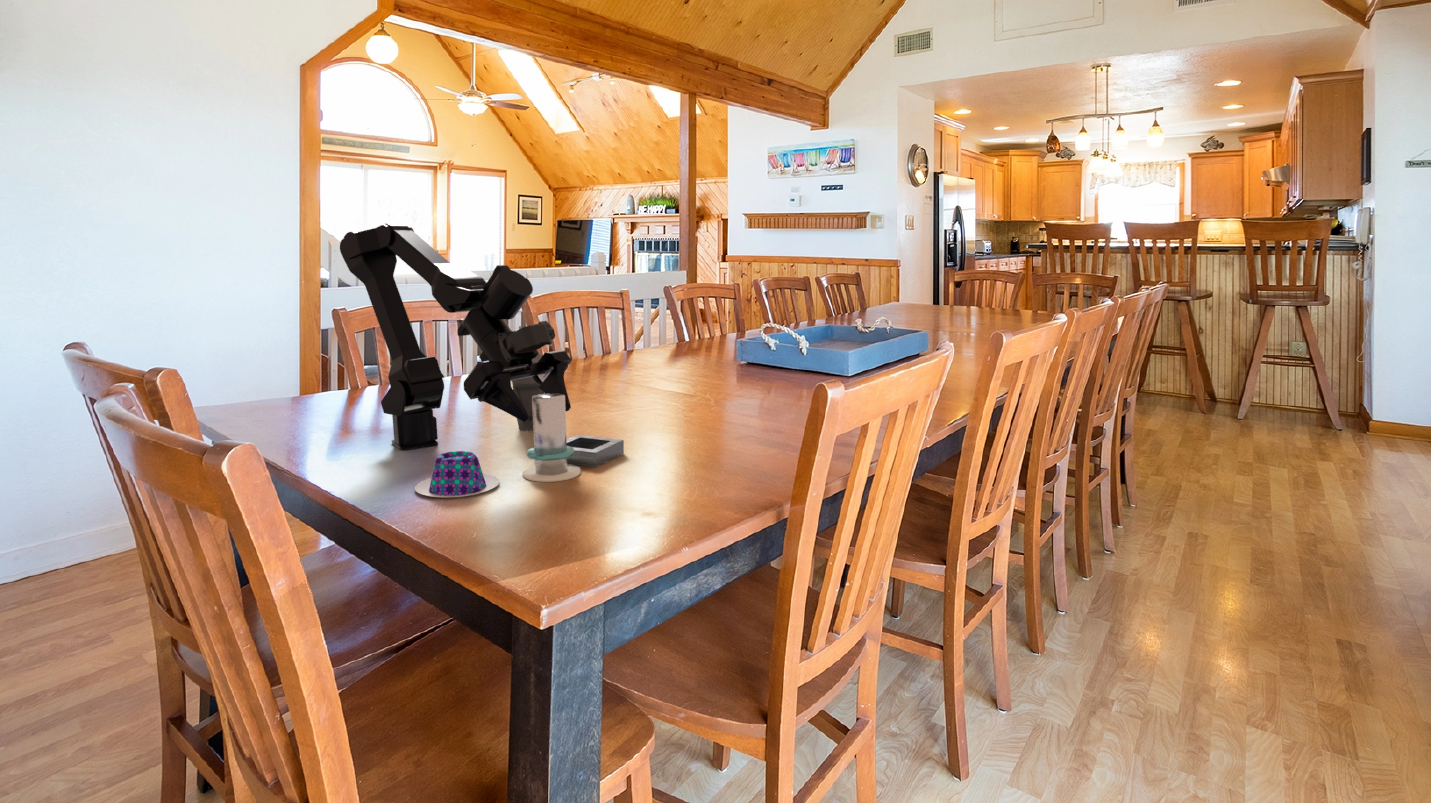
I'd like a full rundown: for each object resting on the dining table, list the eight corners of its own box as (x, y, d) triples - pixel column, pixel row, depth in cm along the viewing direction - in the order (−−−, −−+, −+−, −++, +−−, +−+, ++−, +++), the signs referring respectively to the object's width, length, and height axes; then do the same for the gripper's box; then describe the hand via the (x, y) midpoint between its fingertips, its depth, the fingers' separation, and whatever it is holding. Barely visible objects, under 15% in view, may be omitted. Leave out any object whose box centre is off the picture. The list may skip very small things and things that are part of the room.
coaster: (536, 485, 118) (536, 482, 118) (513, 471, 125) (513, 469, 125) (590, 475, 123) (590, 473, 123) (565, 462, 130) (565, 460, 130)
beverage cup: (544, 433, 150) (540, 328, 146) (506, 432, 150) (501, 328, 146) (553, 424, 157) (549, 324, 153) (516, 423, 158) (512, 324, 154)
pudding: (508, 477, 123) (506, 444, 122) (487, 502, 111) (486, 466, 110) (431, 477, 123) (428, 444, 122) (402, 502, 111) (399, 466, 110)
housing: (595, 467, 128) (595, 452, 127) (548, 461, 131) (547, 446, 131) (623, 453, 136) (623, 439, 135) (578, 448, 139) (577, 434, 139)
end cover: (530, 479, 120) (526, 402, 117) (526, 466, 126) (522, 393, 124) (577, 475, 122) (575, 399, 120) (571, 462, 129) (568, 390, 126)
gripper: (472, 309, 114) (530, 392, 111) (561, 301, 130) (614, 374, 126) (439, 358, 120) (493, 438, 116) (528, 345, 135) (578, 415, 132)
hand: (548, 414), depth 122 cm, fingers open, 9 cm apart
